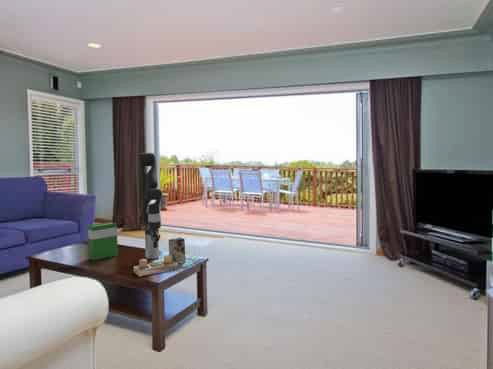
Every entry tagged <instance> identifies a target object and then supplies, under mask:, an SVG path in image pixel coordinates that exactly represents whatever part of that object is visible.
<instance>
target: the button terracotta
mask: <svg viewBox="0 0 493 369" xmlns="http://www.w3.org/2000/svg"><path fill="white" fill-rule="evenodd" d="M138 262H139V265H138V266H140V269H145V268H147V264H148V259H147V258H142V259H139V260H138Z"/></svg>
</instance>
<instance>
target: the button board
mask: <svg viewBox="0 0 493 369" xmlns="http://www.w3.org/2000/svg"><path fill="white" fill-rule="evenodd" d="M171 262H172V263H171V264H164V260H162V261H160V266H155V267H152V262H150V263H147V268H145V269H140V266H139V265H134V266H132V268H133V270H132V271H133V273H134V274H136V275H137V277H143V276H149V275H154V274H159V273H164V272H169V271H175V270H178V269H179V264H178V263H176V262H174V261H173V260H171Z"/></svg>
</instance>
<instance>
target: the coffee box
mask: <svg viewBox="0 0 493 369" xmlns="http://www.w3.org/2000/svg"><path fill="white" fill-rule="evenodd" d="M185 240H186V239H185V238H182V237H177V238H170V239H168V255H171V260H173V261H174V262H176V263H179V264H182V263H181V262H184V263H186V246H185V243H186V242H185Z"/></svg>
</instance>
